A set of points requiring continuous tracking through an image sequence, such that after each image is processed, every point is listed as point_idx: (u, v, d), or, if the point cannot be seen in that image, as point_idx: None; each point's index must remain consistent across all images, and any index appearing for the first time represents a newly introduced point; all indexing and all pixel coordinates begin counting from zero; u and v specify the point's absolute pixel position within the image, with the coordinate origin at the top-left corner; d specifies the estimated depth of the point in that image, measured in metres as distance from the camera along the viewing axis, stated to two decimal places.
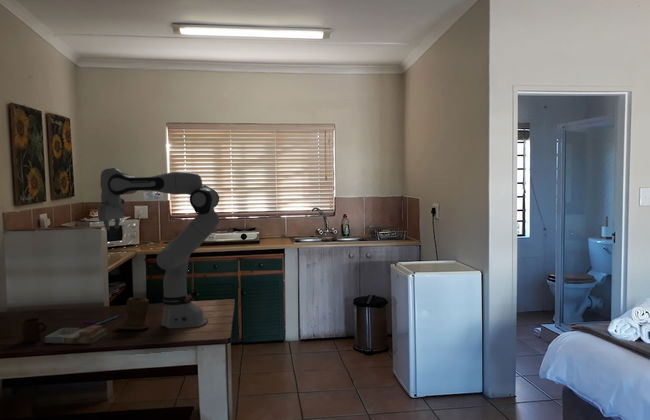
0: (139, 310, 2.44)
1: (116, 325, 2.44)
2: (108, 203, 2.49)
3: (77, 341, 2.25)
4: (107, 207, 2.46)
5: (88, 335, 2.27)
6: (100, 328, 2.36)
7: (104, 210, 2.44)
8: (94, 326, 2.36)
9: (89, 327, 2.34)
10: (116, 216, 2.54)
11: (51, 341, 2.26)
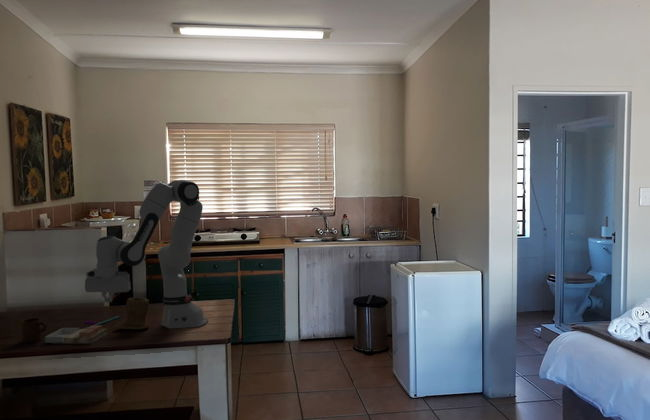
0: (139, 310, 2.44)
1: (116, 325, 2.44)
2: None
3: (77, 341, 2.25)
4: None
5: (88, 335, 2.27)
6: (100, 328, 2.36)
7: None
8: (94, 326, 2.36)
9: (89, 327, 2.34)
10: None
11: (51, 341, 2.26)
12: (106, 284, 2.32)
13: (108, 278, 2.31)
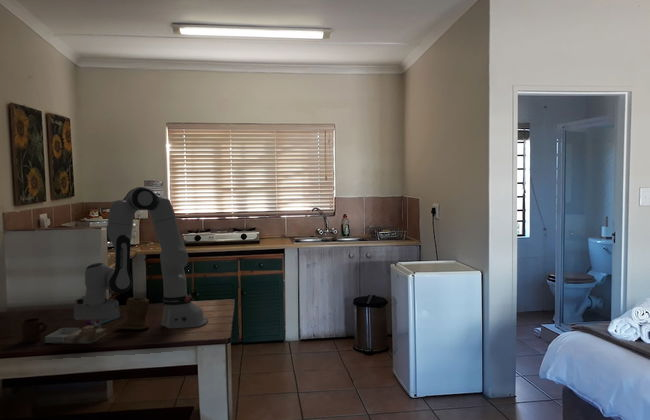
0: (139, 310, 2.44)
1: (116, 325, 2.44)
2: None
3: (77, 341, 2.25)
4: None
5: (88, 335, 2.27)
6: None
7: None
8: (89, 326, 2.36)
9: (84, 327, 2.34)
10: None
11: (51, 341, 2.26)
12: (95, 311, 2.33)
13: (97, 306, 2.32)
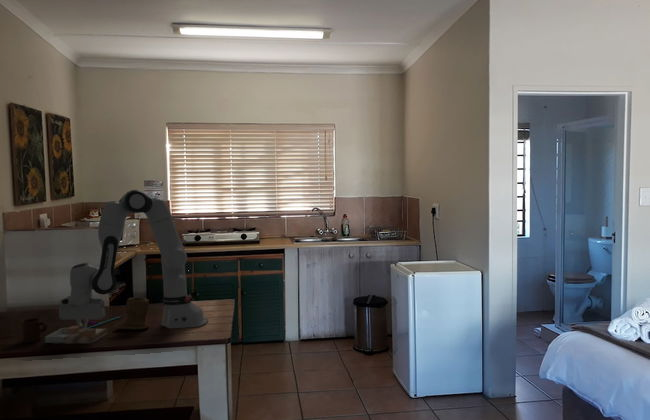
0: (139, 310, 2.44)
1: (116, 325, 2.44)
2: None
3: (77, 341, 2.25)
4: None
5: (88, 335, 2.27)
6: None
7: (103, 307, 2.35)
8: (74, 326, 2.36)
9: (69, 327, 2.35)
10: None
11: (51, 341, 2.26)
12: (80, 311, 2.33)
13: (82, 306, 2.32)
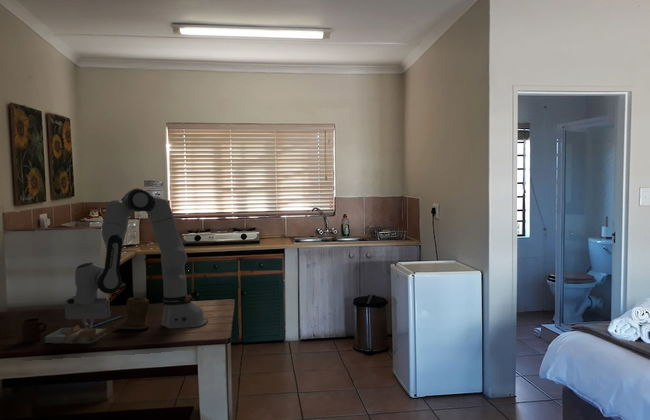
0: (139, 310, 2.44)
1: (116, 325, 2.44)
2: None
3: (77, 341, 2.25)
4: None
5: (88, 335, 2.27)
6: (77, 327, 2.36)
7: (109, 306, 2.36)
8: None
9: None
10: None
11: (51, 341, 2.26)
12: (86, 311, 2.33)
13: (88, 305, 2.32)
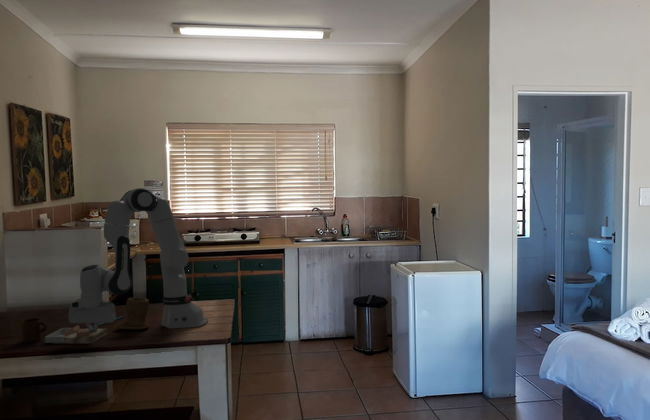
0: (139, 310, 2.44)
1: (116, 325, 2.44)
2: None
3: (77, 341, 2.25)
4: None
5: (85, 335, 2.27)
6: (77, 327, 2.36)
7: (114, 310, 2.29)
8: None
9: None
10: None
11: (51, 341, 2.26)
12: (90, 315, 2.27)
13: (92, 309, 2.25)
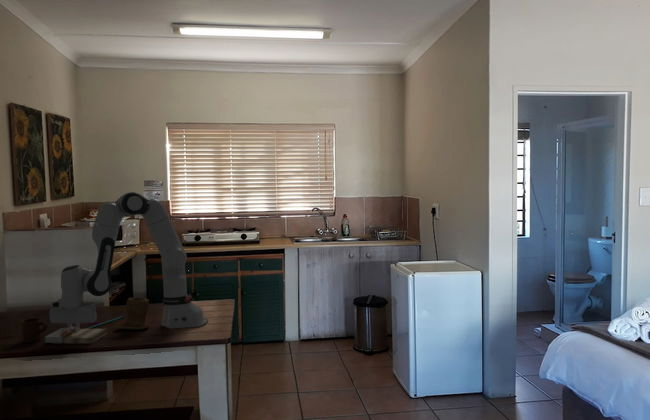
0: (139, 310, 2.44)
1: (116, 325, 2.44)
2: None
3: (77, 341, 2.25)
4: None
5: (66, 334, 2.27)
6: None
7: (95, 310, 2.30)
8: None
9: None
10: None
11: (51, 341, 2.26)
12: (71, 315, 2.27)
13: (73, 309, 2.26)
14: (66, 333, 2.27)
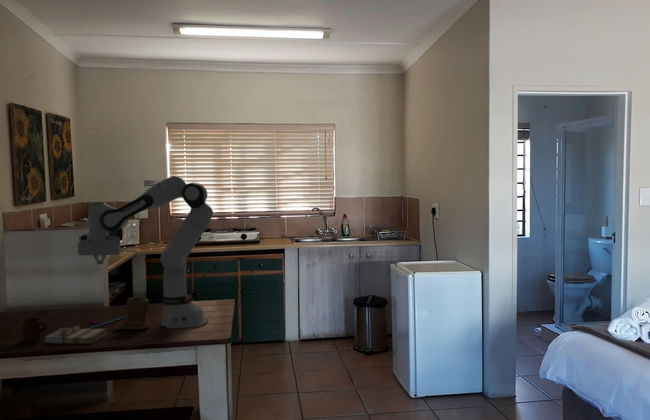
0: (139, 310, 2.44)
1: (116, 325, 2.44)
2: None
3: (77, 341, 2.25)
4: None
5: (65, 335, 2.27)
6: (77, 327, 2.36)
7: (119, 243, 2.50)
8: None
9: None
10: None
11: (51, 341, 2.26)
12: (98, 247, 2.48)
13: (99, 242, 2.47)
14: (65, 334, 2.27)
